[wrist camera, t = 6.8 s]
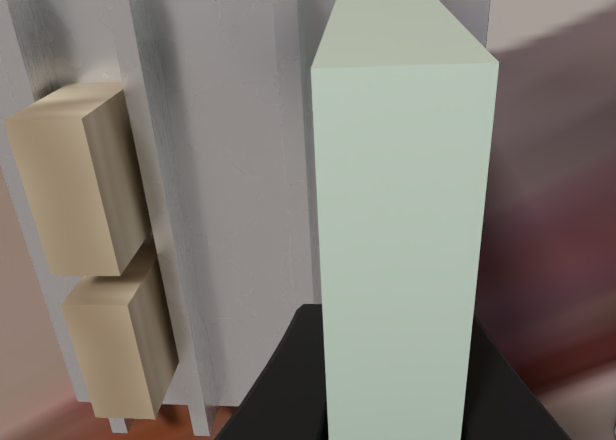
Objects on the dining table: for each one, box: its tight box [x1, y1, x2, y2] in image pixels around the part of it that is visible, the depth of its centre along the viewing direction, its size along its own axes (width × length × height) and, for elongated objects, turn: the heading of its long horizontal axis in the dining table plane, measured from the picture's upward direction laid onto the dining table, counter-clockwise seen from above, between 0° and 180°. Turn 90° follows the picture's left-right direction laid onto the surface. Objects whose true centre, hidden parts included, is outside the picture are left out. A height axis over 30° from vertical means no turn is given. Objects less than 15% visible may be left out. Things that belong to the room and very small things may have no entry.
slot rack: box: [0, 0, 490, 436], centre depth 18 cm, size 15×16×2 cm
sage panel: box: [311, 0, 499, 440], centre depth 9 cm, size 1×10×8 cm, turn 3°
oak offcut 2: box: [61, 243, 179, 419], centre depth 19 cm, size 2×4×4 cm, turn 3°
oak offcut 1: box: [3, 82, 152, 276], centre depth 16 cm, size 2×4×4 cm, turn 3°
